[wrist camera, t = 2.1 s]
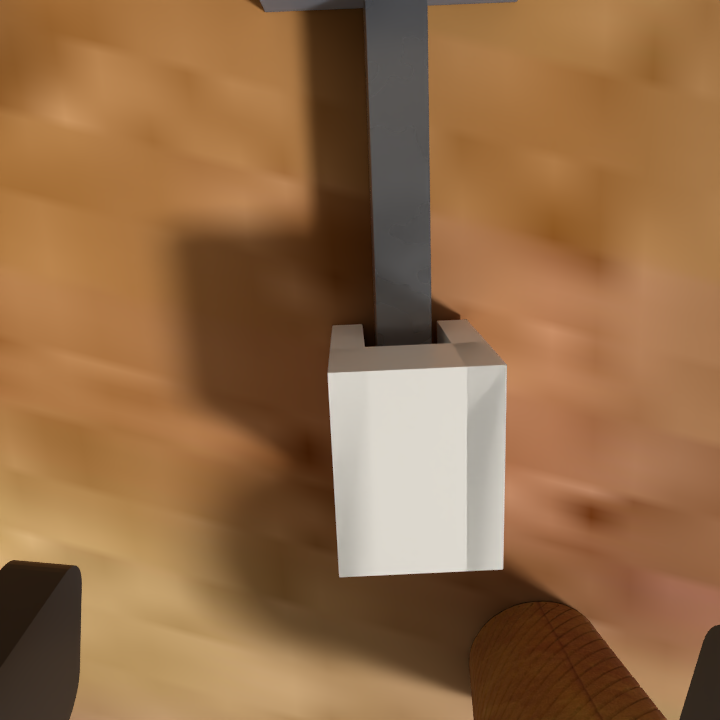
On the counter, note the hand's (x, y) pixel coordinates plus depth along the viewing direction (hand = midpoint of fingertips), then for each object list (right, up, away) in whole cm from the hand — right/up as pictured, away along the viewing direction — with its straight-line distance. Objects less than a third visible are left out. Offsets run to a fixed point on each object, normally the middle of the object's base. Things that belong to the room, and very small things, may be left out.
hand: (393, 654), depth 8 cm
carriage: (+1, +2, +19) cm, 19 cm away
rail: (+1, +7, +17) cm, 19 cm away
